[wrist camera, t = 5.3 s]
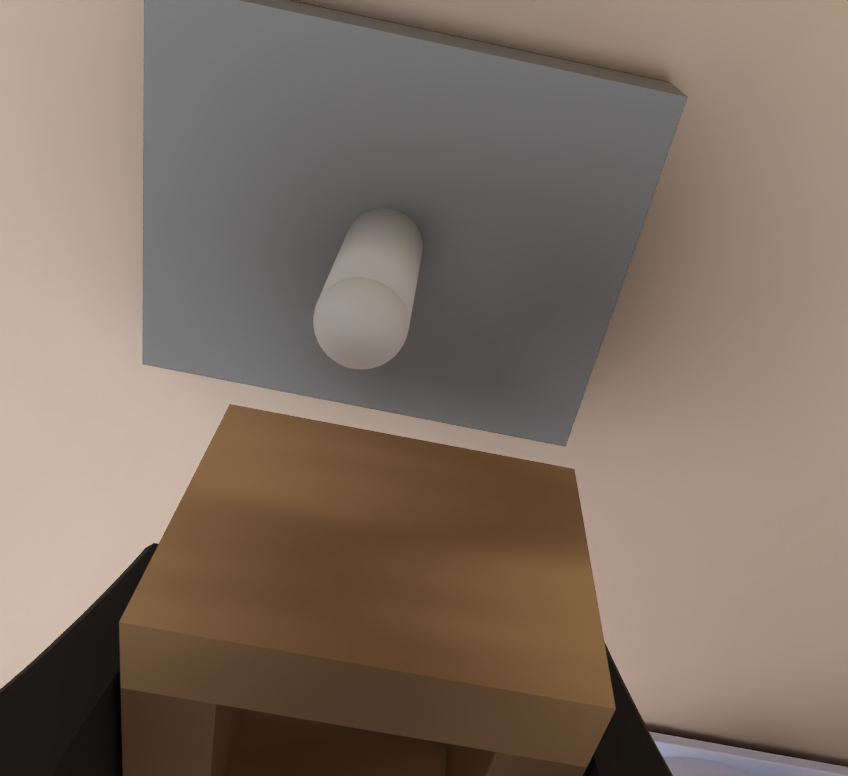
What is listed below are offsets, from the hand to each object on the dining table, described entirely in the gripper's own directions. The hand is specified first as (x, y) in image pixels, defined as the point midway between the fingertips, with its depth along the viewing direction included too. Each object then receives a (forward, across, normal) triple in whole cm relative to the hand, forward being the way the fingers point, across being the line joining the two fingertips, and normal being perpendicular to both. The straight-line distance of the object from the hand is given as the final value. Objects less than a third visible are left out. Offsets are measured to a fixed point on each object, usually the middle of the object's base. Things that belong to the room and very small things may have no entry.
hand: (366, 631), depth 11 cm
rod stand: (+9, +1, -3) cm, 9 cm away
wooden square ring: (+1, 0, 0) cm, 1 cm away
